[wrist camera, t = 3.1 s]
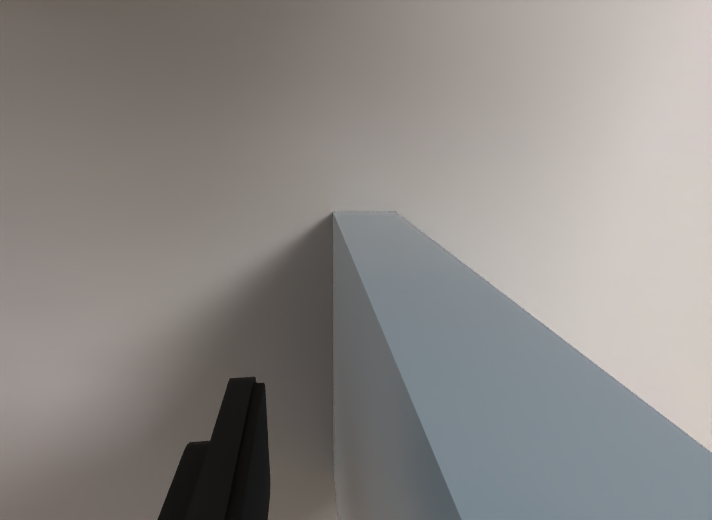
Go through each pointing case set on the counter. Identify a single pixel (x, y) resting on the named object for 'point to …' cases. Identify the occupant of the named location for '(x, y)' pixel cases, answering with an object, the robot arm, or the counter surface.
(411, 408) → the light blue upright panel
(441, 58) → the counter surface
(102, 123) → the counter surface
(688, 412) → the counter surface
